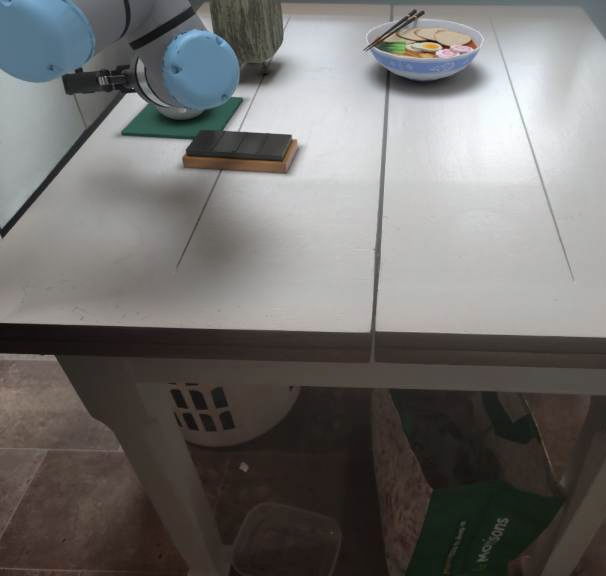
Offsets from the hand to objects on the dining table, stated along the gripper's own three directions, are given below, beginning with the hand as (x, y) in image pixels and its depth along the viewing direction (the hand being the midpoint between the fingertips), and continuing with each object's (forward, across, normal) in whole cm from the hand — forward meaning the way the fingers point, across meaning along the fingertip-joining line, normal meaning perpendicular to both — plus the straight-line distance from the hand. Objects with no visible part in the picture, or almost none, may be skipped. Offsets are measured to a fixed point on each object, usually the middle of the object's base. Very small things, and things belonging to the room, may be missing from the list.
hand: (132, 79), depth 90 cm
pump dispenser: (+11, +10, -6) cm, 16 cm away
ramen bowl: (+4, +56, -3) cm, 56 cm away
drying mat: (+12, +10, -7) cm, 17 cm away
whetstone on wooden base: (-6, +13, -13) cm, 19 cm away
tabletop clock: (+22, +28, 0) cm, 36 cm away
